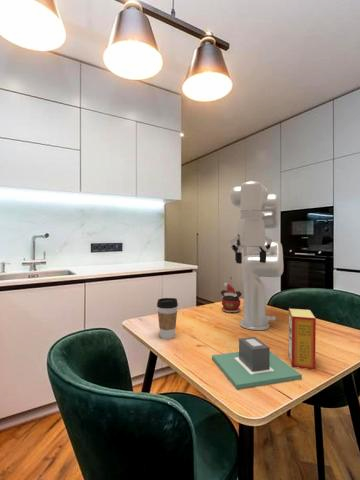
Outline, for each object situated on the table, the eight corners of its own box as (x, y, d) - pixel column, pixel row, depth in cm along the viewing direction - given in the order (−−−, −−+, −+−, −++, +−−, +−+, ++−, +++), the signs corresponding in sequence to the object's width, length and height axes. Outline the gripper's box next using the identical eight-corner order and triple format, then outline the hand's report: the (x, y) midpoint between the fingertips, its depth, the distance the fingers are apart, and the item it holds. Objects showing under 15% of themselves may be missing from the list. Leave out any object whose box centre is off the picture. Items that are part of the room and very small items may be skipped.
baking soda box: (288, 353, 92) (288, 307, 92) (309, 356, 90) (309, 308, 90) (291, 367, 83) (292, 315, 83) (315, 370, 81) (315, 317, 81)
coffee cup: (170, 342, 102) (170, 302, 102) (152, 337, 107) (152, 299, 107) (181, 334, 110) (181, 298, 109) (164, 331, 114) (164, 295, 114)
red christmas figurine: (242, 309, 146) (242, 276, 146) (239, 314, 137) (239, 279, 137) (223, 307, 150) (223, 275, 149) (219, 312, 141) (219, 278, 141)
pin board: (266, 351, 94) (266, 337, 93) (301, 378, 76) (301, 360, 76) (211, 358, 89) (211, 343, 88) (236, 389, 71) (236, 369, 71)
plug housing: (254, 356, 87) (254, 336, 87) (269, 369, 79) (269, 347, 79) (238, 358, 86) (238, 338, 86) (252, 371, 78) (252, 349, 77)
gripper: (266, 217, 105) (266, 261, 105) (224, 216, 100) (224, 262, 101) (277, 215, 97) (277, 263, 98) (233, 215, 93) (233, 264, 93)
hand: (250, 262), depth 99 cm, fingers open, 9 cm apart
